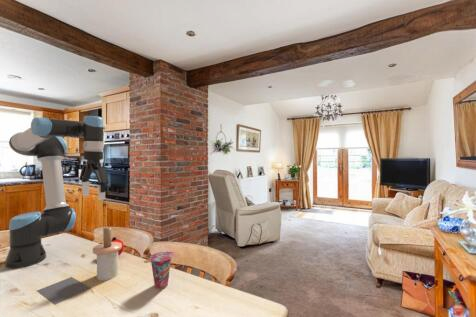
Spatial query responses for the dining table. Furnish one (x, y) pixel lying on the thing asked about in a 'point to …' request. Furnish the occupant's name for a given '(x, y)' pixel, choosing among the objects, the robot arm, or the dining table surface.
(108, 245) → the lid
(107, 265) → the white round pillar
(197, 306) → the dining table surface
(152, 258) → the cup
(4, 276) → the dining table surface
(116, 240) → the ornament
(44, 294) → the mat
